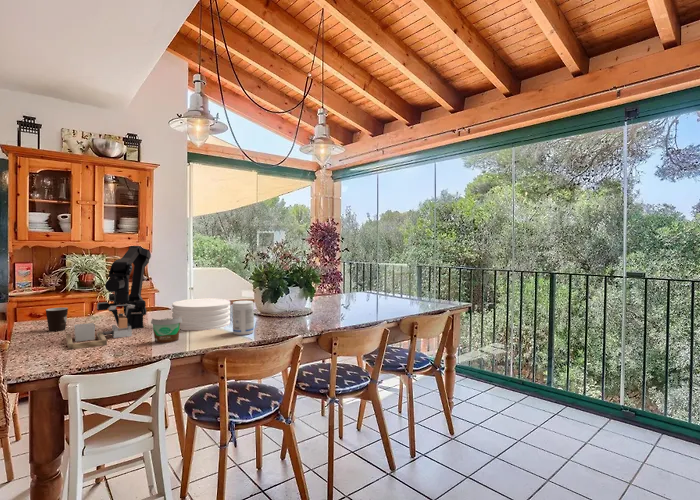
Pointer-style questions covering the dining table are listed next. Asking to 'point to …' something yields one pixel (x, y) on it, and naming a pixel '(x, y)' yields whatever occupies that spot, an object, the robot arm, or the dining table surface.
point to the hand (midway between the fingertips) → (121, 323)
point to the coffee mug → (56, 319)
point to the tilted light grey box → (84, 332)
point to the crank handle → (122, 321)
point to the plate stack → (202, 313)
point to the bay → (86, 344)
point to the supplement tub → (243, 317)
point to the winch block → (119, 331)
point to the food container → (166, 330)
